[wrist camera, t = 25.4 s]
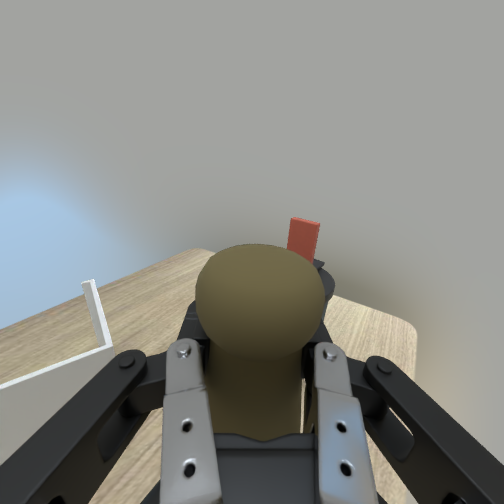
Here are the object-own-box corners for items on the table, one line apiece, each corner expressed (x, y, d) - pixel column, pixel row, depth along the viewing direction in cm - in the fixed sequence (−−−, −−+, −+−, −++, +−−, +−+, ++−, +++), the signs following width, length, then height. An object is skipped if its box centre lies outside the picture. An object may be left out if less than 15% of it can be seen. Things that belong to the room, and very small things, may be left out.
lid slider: (310, 277, 25) (320, 225, 23) (281, 266, 27) (288, 217, 25) (324, 265, 28) (334, 218, 26) (297, 256, 30) (304, 211, 28)
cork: (233, 544, 9) (251, 336, 5) (174, 417, 14) (155, 244, 9) (322, 441, 13) (377, 267, 9) (254, 366, 17) (267, 224, 13)
